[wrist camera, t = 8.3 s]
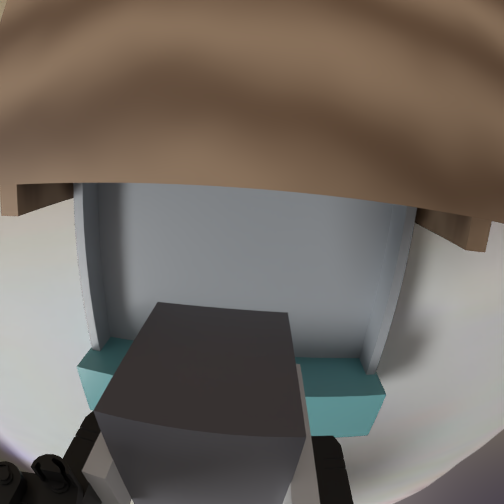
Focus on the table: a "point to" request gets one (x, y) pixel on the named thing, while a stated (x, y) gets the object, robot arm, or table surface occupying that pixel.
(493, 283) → the table surface
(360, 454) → the table surface
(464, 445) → the table surface
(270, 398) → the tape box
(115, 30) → the wooden drawer cabinet
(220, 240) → the drawer
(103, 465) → the robot arm
